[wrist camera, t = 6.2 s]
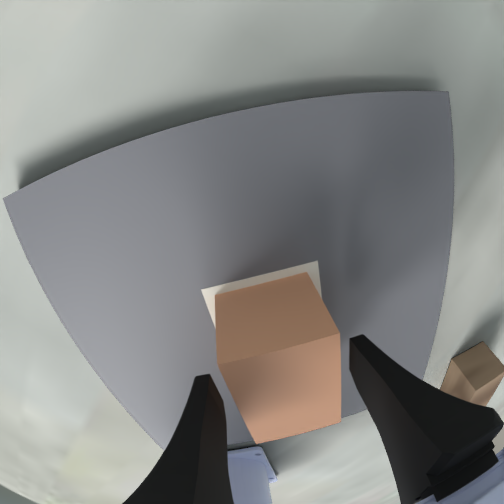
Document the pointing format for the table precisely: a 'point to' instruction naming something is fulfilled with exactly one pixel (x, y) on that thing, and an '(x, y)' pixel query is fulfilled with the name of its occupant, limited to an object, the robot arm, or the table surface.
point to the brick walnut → (474, 375)
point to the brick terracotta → (280, 357)
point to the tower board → (247, 238)
